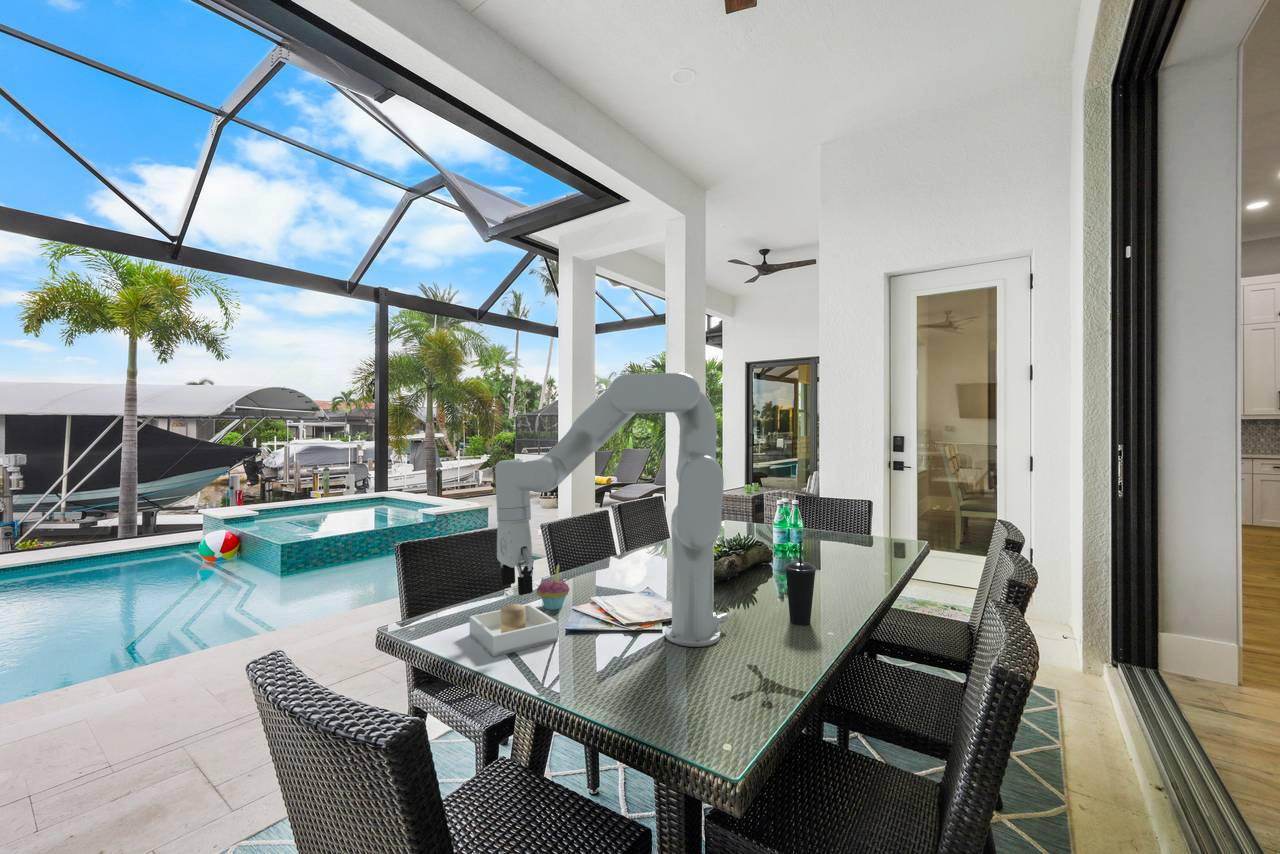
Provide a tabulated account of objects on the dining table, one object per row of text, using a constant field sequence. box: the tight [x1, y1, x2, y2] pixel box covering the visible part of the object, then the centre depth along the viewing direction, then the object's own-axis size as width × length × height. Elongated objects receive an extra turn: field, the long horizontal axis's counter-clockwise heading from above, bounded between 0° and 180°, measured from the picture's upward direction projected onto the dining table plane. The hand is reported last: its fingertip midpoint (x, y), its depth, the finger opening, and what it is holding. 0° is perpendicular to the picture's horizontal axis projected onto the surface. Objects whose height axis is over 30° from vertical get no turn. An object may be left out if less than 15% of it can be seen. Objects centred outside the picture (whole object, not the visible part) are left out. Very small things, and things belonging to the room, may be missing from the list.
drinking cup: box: [783, 540, 817, 626], centre depth 138 cm, size 8×8×20 cm
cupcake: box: [536, 562, 570, 610], centre depth 148 cm, size 9×8×12 cm
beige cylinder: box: [500, 603, 525, 633], centre depth 127 cm, size 5×5×6 cm
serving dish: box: [469, 603, 559, 658], centre depth 127 cm, size 15×15×4 cm
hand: (516, 588), depth 127 cm, fingers open, 9 cm apart
